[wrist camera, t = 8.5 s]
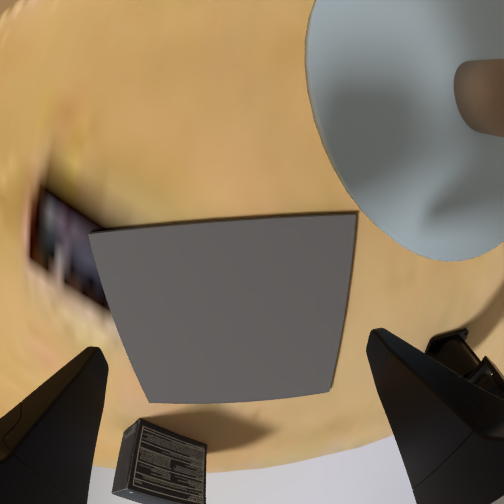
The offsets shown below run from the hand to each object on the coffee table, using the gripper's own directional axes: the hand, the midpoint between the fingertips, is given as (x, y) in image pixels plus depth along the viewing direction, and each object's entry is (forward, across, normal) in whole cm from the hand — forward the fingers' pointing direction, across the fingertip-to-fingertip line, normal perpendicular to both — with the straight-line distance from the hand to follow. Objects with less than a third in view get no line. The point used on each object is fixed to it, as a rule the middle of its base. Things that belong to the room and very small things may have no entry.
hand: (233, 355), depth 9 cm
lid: (+6, -13, -9) cm, 17 cm away
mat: (+13, +1, +10) cm, 16 cm away
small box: (+13, +12, +30) cm, 35 cm away
